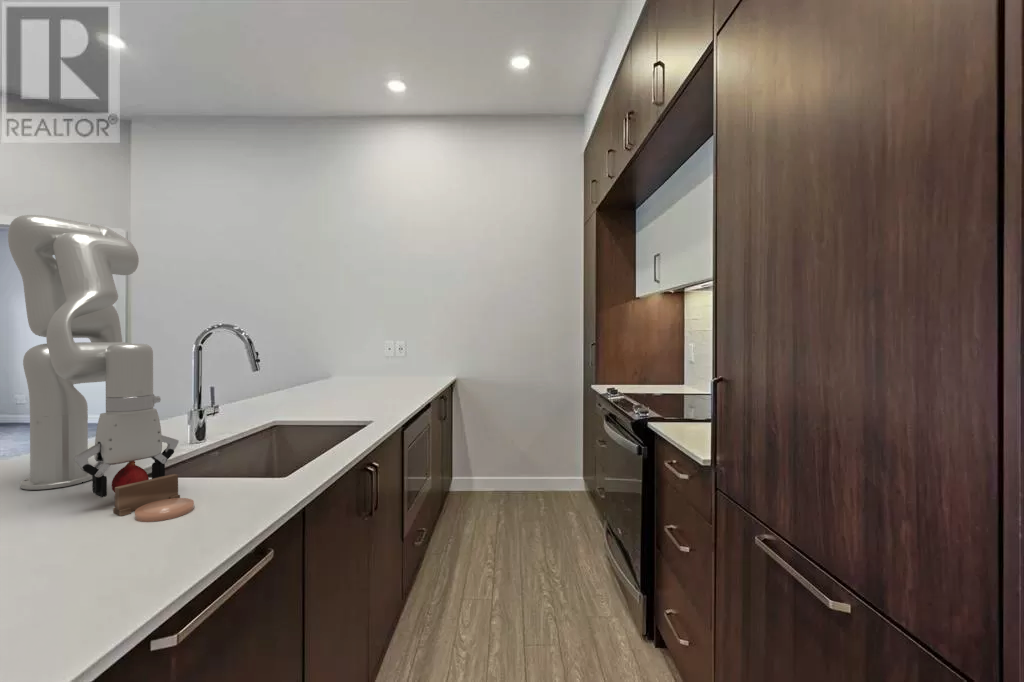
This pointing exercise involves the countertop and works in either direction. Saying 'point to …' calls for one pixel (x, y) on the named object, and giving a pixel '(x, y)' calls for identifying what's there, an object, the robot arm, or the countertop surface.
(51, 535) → the countertop surface
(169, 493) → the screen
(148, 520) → the plate
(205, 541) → the countertop surface
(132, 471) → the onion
